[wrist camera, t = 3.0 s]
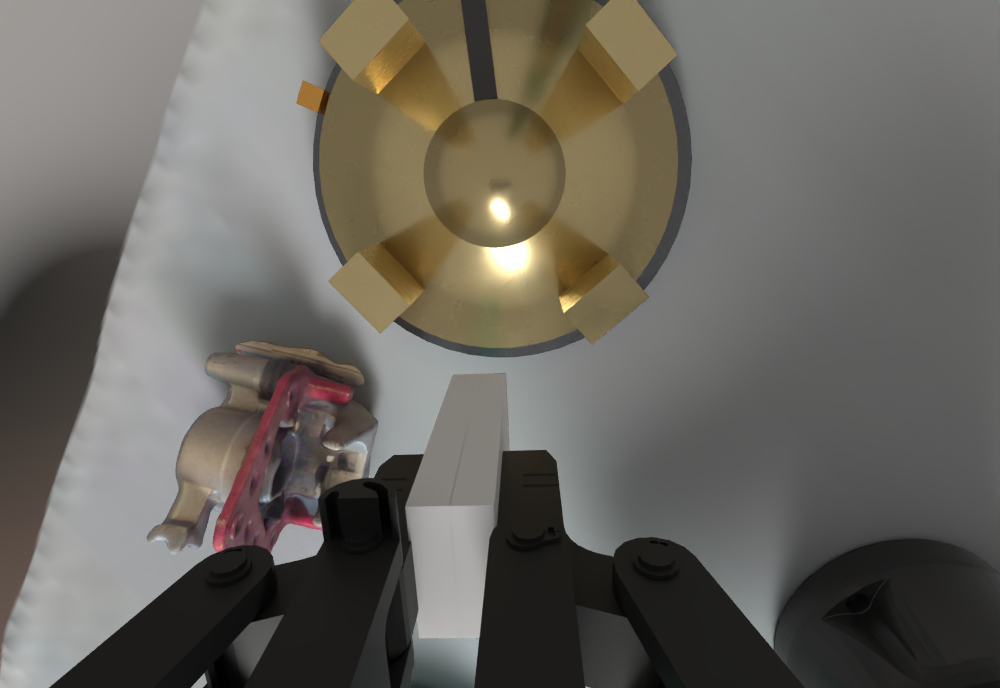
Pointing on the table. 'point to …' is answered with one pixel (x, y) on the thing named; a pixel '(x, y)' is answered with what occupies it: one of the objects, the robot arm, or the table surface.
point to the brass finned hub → (497, 164)
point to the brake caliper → (268, 447)
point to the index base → (318, 102)
